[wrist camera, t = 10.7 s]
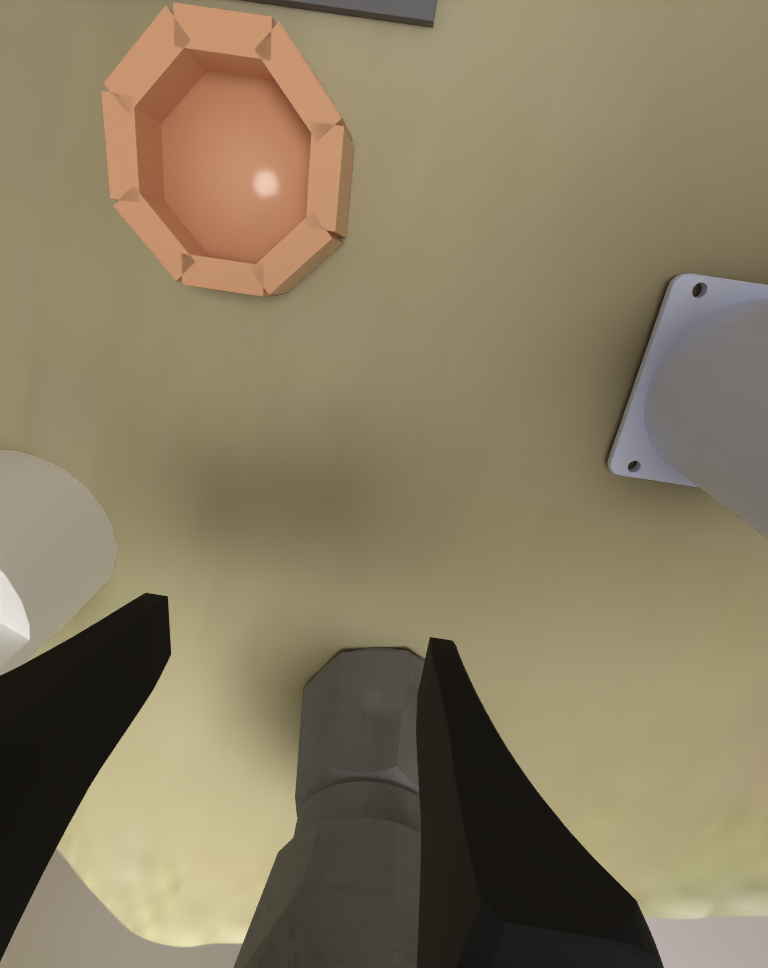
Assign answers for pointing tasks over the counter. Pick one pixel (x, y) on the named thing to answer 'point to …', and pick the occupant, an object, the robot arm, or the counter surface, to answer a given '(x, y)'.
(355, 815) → the coffeepot
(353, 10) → the mat
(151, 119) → the bowl
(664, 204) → the counter surface
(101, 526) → the cylinder with rectangular tab
